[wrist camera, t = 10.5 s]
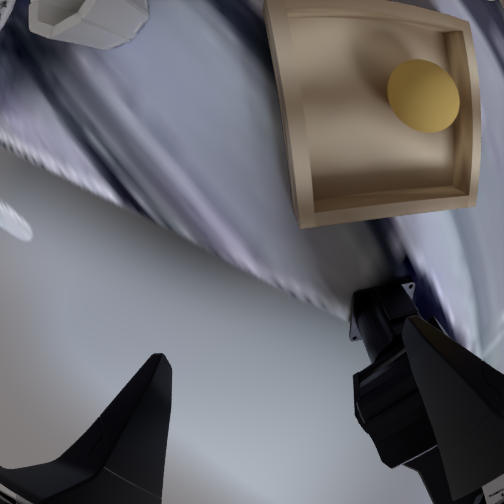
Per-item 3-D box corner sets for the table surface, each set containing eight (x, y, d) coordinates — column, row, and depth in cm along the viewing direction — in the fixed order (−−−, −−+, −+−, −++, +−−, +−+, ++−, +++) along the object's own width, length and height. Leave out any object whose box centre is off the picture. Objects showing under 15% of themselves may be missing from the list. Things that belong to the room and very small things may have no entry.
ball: (457, 140, 15) (480, 84, 11) (419, 155, 14) (444, 86, 10) (410, 101, 17) (423, 47, 13) (366, 111, 17) (377, 47, 12)
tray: (455, 193, 20) (475, 206, 17) (293, 211, 21) (300, 229, 18) (446, 25, 13) (469, 22, 10) (262, 10, 14) (265, -5, 11)
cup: (153, 34, 14) (110, 8, 8) (88, 59, 14) (29, 53, 8) (145, -21, 12) (106, -59, 5) (83, 6, 12) (29, -14, 6)
